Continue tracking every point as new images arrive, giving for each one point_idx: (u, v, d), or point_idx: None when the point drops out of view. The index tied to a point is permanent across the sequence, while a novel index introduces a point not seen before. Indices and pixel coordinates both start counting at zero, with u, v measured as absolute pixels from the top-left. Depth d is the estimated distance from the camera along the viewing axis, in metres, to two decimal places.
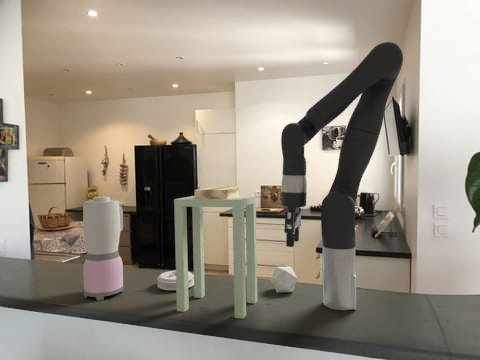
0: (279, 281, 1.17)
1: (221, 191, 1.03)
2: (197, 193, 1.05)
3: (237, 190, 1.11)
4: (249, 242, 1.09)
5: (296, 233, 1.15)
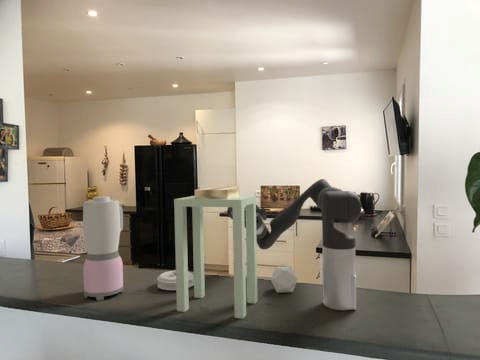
0: (279, 281, 1.17)
1: (221, 191, 1.03)
2: (197, 193, 1.05)
3: (237, 190, 1.11)
4: (249, 242, 1.09)
5: None
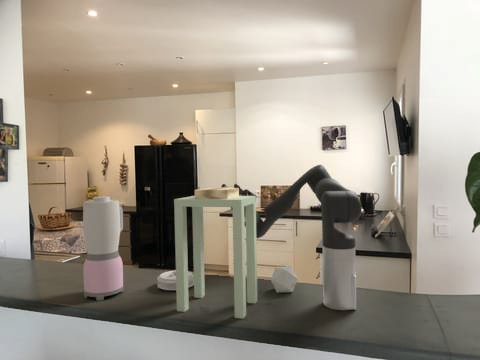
0: (279, 281, 1.17)
1: (221, 191, 1.03)
2: (197, 193, 1.05)
3: (238, 190, 1.11)
4: (249, 242, 1.09)
5: None
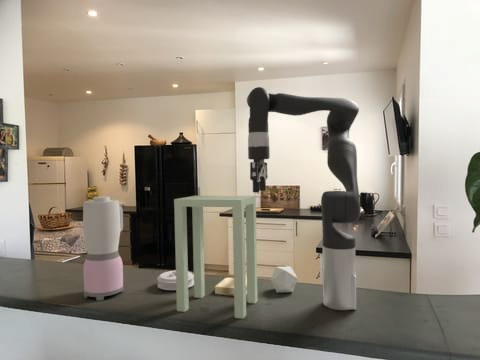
0: (279, 281, 1.17)
1: None
2: (217, 289, 1.19)
3: None
4: (249, 242, 1.09)
5: None
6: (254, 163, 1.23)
